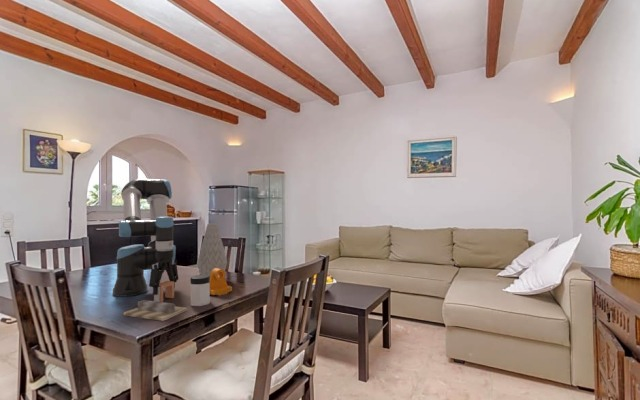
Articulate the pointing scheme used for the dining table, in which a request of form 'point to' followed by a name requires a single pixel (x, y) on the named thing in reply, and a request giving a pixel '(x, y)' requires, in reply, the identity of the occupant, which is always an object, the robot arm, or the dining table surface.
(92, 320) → the dining table surface
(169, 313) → the rail board
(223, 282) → the bracket
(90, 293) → the dining table surface
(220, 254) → the vase
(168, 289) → the clip
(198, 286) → the jar
